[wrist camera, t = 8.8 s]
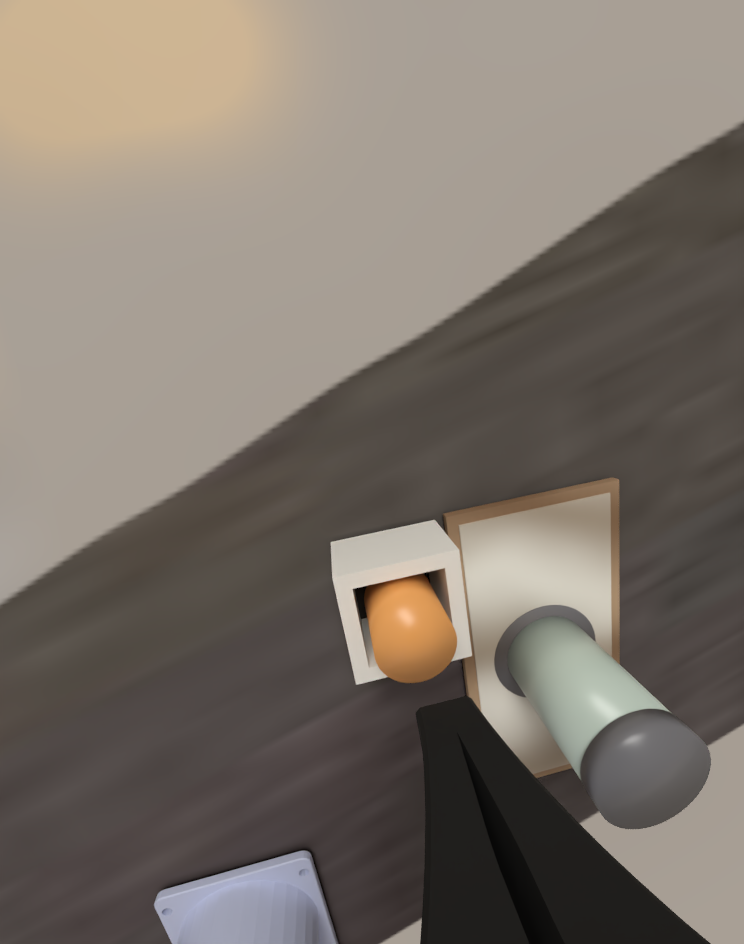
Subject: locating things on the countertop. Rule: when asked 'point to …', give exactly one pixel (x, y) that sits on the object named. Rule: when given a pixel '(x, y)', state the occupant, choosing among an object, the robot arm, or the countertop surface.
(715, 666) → the countertop surface
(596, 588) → the sketch pad
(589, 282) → the countertop surface
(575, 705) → the ink stamp
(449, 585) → the button box
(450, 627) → the button
